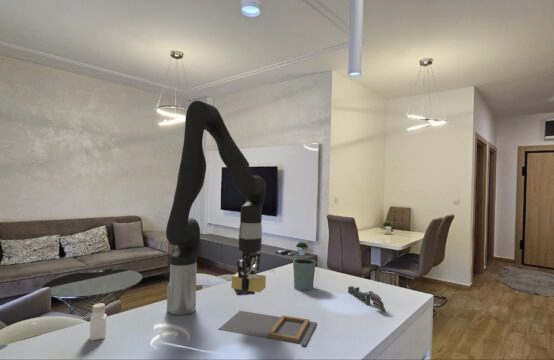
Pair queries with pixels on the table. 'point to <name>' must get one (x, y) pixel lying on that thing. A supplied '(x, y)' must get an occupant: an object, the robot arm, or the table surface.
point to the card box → (250, 282)
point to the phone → (243, 292)
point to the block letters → (367, 297)
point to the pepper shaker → (98, 322)
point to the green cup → (304, 274)
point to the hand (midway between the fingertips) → (248, 287)
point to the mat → (271, 327)
